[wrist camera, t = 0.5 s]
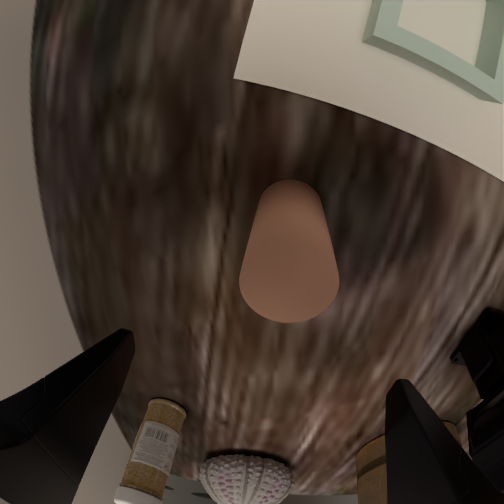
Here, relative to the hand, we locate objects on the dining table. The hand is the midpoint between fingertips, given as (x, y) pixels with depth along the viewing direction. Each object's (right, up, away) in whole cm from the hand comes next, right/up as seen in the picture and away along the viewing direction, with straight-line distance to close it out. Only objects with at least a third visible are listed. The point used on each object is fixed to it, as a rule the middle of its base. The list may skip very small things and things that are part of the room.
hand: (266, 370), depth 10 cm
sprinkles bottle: (-10, -14, +23) cm, 29 cm away
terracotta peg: (+2, +6, +10) cm, 12 cm away
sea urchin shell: (-1, -27, +29) cm, 40 cm away
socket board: (+10, +18, +3) cm, 20 cm away
